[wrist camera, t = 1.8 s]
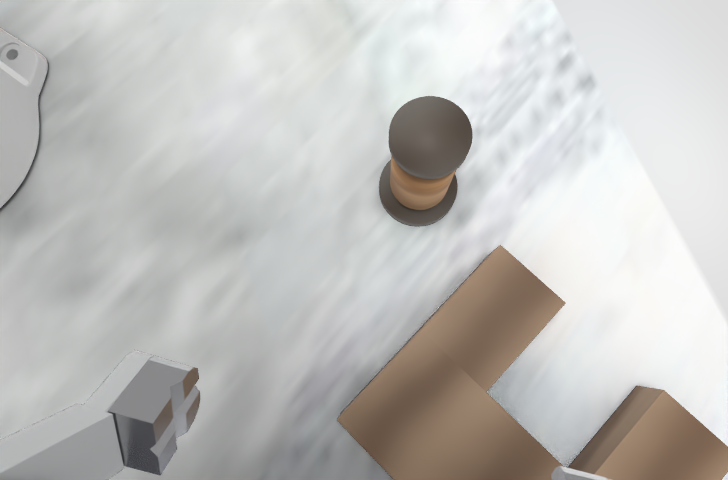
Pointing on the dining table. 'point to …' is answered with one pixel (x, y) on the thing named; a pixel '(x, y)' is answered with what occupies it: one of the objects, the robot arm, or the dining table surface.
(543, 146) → the dining table surface
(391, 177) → the bobbin
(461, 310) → the notched board
